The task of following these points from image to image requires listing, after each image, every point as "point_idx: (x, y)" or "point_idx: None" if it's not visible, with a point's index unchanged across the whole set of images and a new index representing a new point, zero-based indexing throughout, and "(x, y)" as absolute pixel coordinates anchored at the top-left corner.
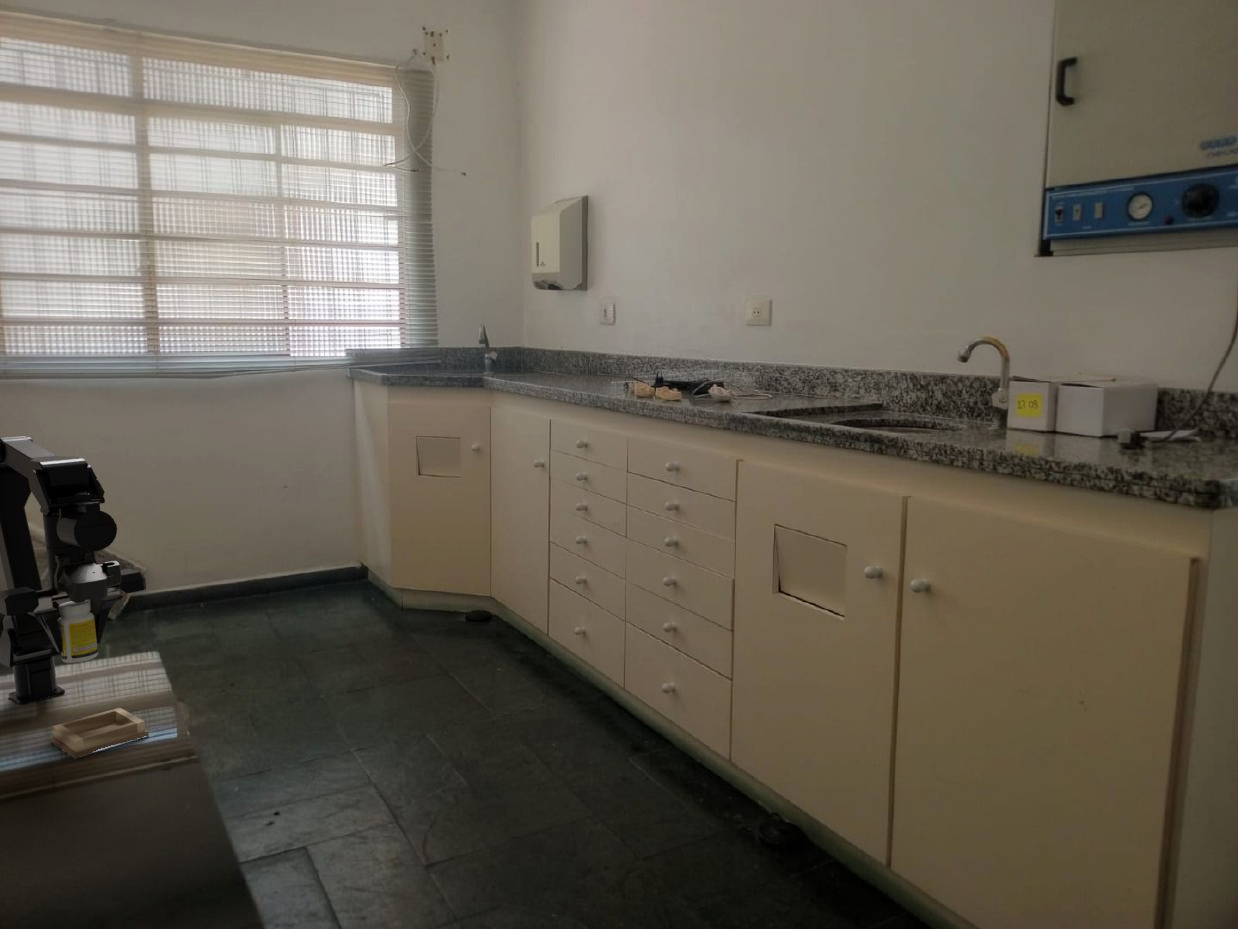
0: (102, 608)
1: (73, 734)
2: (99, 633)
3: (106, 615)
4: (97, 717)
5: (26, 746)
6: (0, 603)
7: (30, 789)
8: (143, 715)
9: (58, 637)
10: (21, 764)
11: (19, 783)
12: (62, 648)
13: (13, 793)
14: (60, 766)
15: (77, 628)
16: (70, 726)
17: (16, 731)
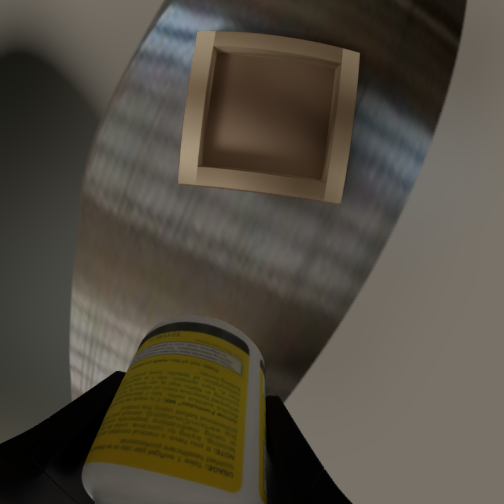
0: (19, 474)
1: (342, 96)
2: (99, 395)
3: (29, 437)
4: (242, 171)
5: (368, 226)
6: None
7: (439, 30)
8: (139, 183)
9: (288, 446)
10: (415, 139)
11: (443, 65)
12: (265, 406)
13: (456, 44)
14: (382, 58)
15: (197, 448)
16: (307, 179)
17: (330, 323)
